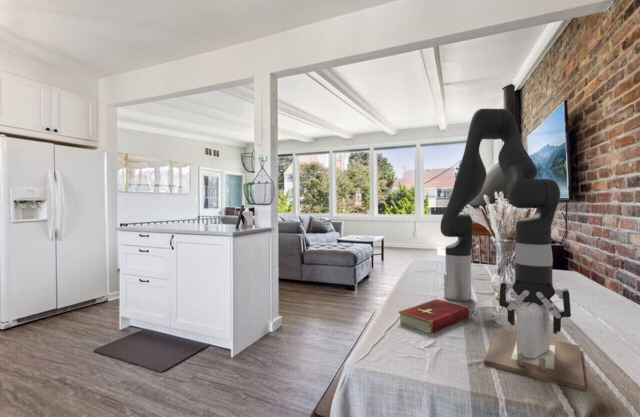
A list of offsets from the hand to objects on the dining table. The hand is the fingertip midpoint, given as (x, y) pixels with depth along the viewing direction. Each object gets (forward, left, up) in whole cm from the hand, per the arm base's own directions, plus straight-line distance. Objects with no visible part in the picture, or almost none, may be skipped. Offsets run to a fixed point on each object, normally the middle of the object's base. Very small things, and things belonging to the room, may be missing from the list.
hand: (533, 328), depth 77 cm
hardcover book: (-27, +11, -8) cm, 30 cm away
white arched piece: (-14, +22, -7) cm, 27 cm away
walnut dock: (0, 0, -7) cm, 7 cm away
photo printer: (0, 0, -6) cm, 6 cm away
